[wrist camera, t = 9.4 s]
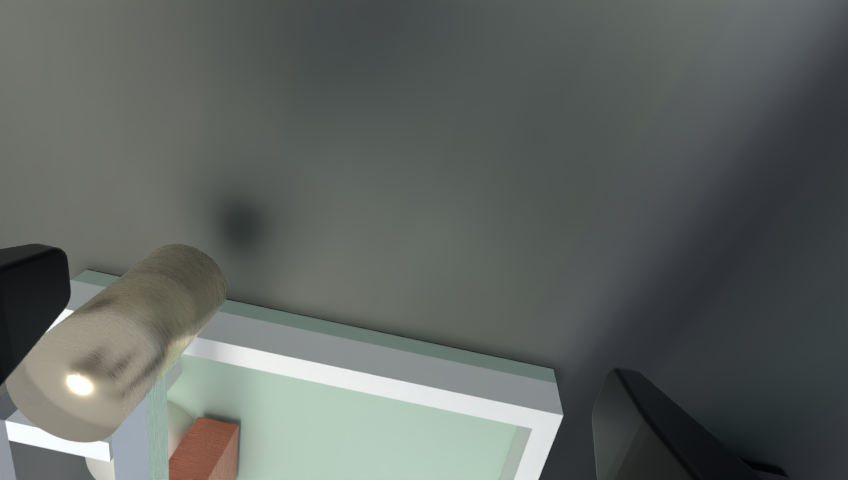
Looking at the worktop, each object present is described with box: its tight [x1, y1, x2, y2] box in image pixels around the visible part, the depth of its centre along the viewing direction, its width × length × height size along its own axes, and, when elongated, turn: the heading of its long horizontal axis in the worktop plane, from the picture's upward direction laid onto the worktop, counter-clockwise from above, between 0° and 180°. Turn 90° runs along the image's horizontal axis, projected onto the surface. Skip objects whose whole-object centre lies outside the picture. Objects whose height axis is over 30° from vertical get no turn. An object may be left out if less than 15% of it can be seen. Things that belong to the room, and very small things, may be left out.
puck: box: [85, 400, 195, 480], centre depth 25 cm, size 4×4×2 cm
